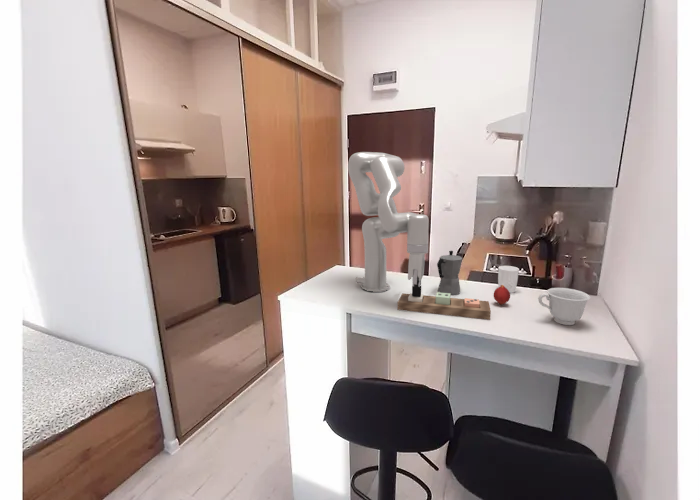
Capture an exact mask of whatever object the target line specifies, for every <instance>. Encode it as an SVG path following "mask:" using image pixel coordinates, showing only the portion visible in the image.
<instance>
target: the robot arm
mask: <svg viewBox="0 0 700 500" xmlns="http://www.w3.org/2000/svg"><path fill="white" fill-rule="evenodd" d="M347 170H348V171H347V172H348V176H349V178H350V179H351V182H352V185H353V187H354V189H355V195H356V198H357V201H358V205H359V209H360V212H361V214H363V215H364V216H367V217H368V216H369V217H370V216H372V217H370V218H367V219H365V220H364V222H362V226H361V232H362V235H363V236H362V237H363V243H364V244H363V245H364V276H363V277H358V276H357V277H356V278H355V282H357V284H361V287H362V288H363V289H365V290H367V291H366V292H368V291H373V292H372V293H381V292H382V291H383V292H386V290H387V291H388V290H390V288H391V287H390V284H389V283H387V248H386V245H385V243H384V242H383V240H384V239H390V238H395V237H398V236H399V235H400V233H401V234H402V233H406V234H407V235H406V237H407V240H406V241H407V242H406V244H407V245H406V246H407V247H406V253H408V254H409V257H408V267H407V268H408V269H407V270H408V271H407V280H408V281H411V280H412V281H411V282H412V286H411V293H412V296H414V297H421V294H422V279H423V277H424V274H425V273H424V272H425V262H426V261H425V257H426V256H425V255H426V254H428V253H429V228H430V225H429V224H430V223H429V222H430V221H429V216H428V215H426V214H422V213H421V214H419V213H415V212H411V211H409V212H408V211H407V212H398V209H397V206H396V203H395V200H394V197H396V196H397V195H398V194H399V193H400V192H401V190H402V185H401V183H400V180H399V179H398V178H399V177H401V176H402V175H403V174H404V172H405V163H404V161H403V160H402V158H401V157H400V156H398V155H397V156H396V155H393V154H389V153H385V152H379V151H378V152H375V151H373V152H372V151H360V152H358V151H357V152H355V153H353V154H352V155H351V156H350V157H349V159H348V163H347ZM366 173H372V177H373V178H374V182H375V183H376V186H377V188H378V191H379V193H378V192H377V190H376V188H375V187H376V186H375V183H374V182H373V180H372V179H371V178H370V176H369V175H367V174H366ZM373 216H377V217H373ZM362 288H361V289H362ZM363 289H362V290H363ZM365 290H364V291H365Z"/></svg>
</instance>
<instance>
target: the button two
mask: <svg viewBox="0 0 700 500" xmlns="http://www.w3.org/2000/svg"><path fill="white" fill-rule="evenodd" d="M435 296H436V304H443V305H450V298H451V296H452V295H451V293H440V292H439V291H438V292H437V291H436V295H435Z"/></svg>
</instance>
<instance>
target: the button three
mask: <svg viewBox="0 0 700 500" xmlns="http://www.w3.org/2000/svg"><path fill="white" fill-rule="evenodd" d="M463 299H464V307H473V308H479V307H480V303H479V300H480V299H477V298H466V297H465V298H463Z"/></svg>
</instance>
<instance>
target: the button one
mask: <svg viewBox="0 0 700 500" xmlns="http://www.w3.org/2000/svg"><path fill="white" fill-rule="evenodd" d="M409 294H410V295H409V297H408V301H413V302H423V295H424V294H423V293H421V297H414V296H412V292H411V293H409Z"/></svg>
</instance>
